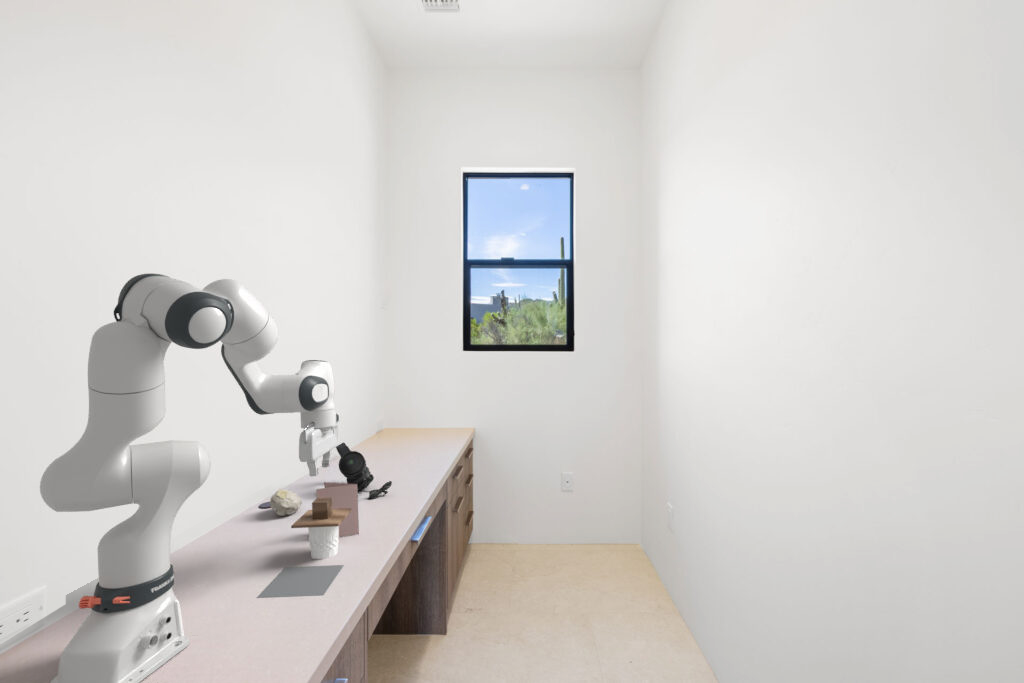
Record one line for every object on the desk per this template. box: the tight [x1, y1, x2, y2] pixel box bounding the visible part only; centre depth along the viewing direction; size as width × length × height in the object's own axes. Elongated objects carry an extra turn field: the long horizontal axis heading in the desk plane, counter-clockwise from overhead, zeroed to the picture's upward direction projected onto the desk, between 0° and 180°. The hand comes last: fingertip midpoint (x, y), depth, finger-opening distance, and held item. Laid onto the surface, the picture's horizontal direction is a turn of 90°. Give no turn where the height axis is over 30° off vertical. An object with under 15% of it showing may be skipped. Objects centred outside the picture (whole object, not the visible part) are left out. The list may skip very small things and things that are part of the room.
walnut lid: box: [290, 497, 352, 529], centre depth 136 cm, size 12×12×5 cm
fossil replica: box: [269, 488, 303, 517], centre depth 171 cm, size 12×8×10 cm
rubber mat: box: [256, 564, 344, 599], centre depth 121 cm, size 15×15×1 cm
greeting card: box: [315, 481, 360, 538], centre depth 149 cm, size 11×7×15 cm, turn 74°
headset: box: [335, 442, 393, 499], centre depth 193 cm, size 18×14×29 cm
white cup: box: [308, 526, 340, 560], centre depth 136 cm, size 8×8×10 cm
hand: (320, 471), depth 136 cm, fingers open, 8 cm apart
